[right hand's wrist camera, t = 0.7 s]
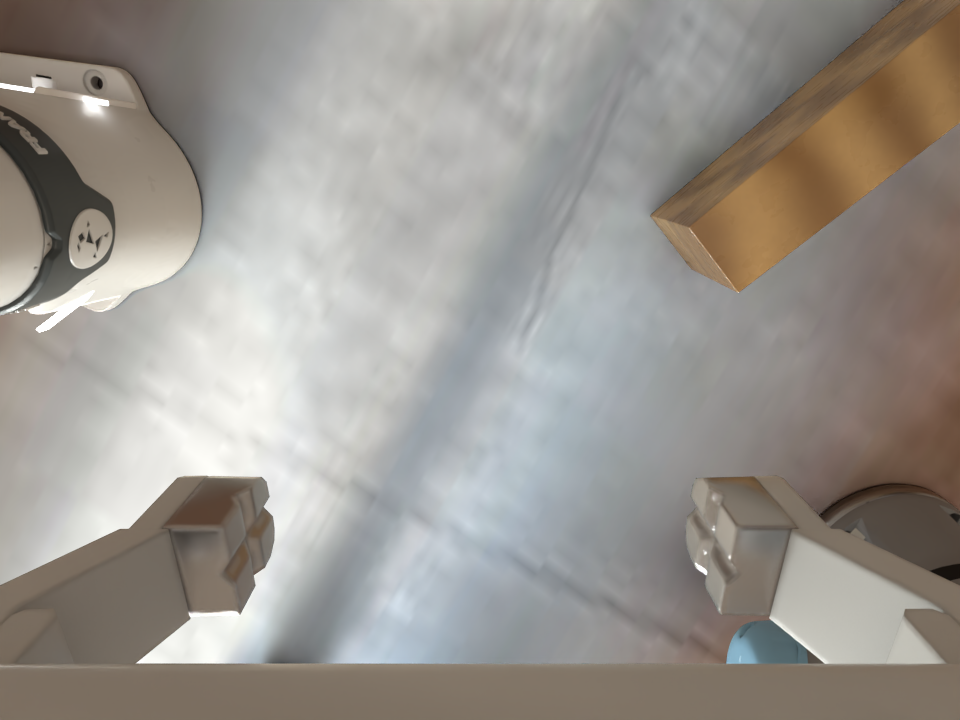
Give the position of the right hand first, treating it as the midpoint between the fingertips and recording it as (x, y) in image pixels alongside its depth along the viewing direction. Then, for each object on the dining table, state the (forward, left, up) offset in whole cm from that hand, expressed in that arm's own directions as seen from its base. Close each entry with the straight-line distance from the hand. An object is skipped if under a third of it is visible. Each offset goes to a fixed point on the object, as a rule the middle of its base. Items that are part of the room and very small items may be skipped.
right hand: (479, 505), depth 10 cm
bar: (+20, +15, -35) cm, 43 cm away
